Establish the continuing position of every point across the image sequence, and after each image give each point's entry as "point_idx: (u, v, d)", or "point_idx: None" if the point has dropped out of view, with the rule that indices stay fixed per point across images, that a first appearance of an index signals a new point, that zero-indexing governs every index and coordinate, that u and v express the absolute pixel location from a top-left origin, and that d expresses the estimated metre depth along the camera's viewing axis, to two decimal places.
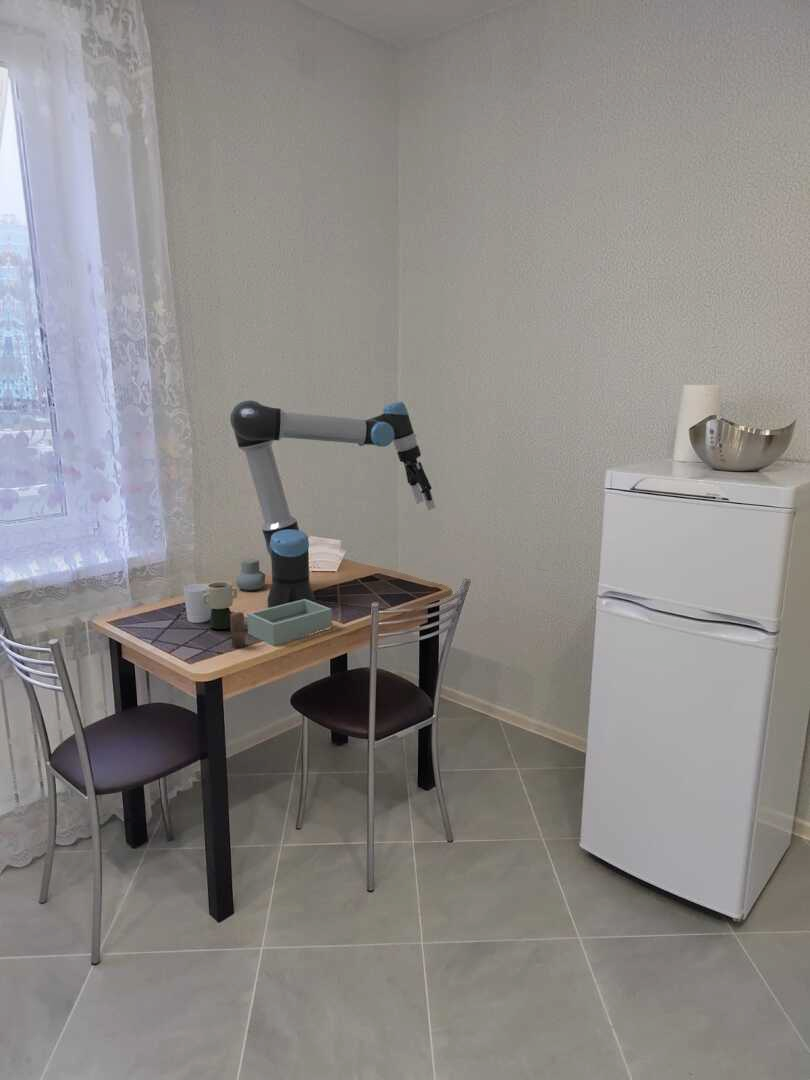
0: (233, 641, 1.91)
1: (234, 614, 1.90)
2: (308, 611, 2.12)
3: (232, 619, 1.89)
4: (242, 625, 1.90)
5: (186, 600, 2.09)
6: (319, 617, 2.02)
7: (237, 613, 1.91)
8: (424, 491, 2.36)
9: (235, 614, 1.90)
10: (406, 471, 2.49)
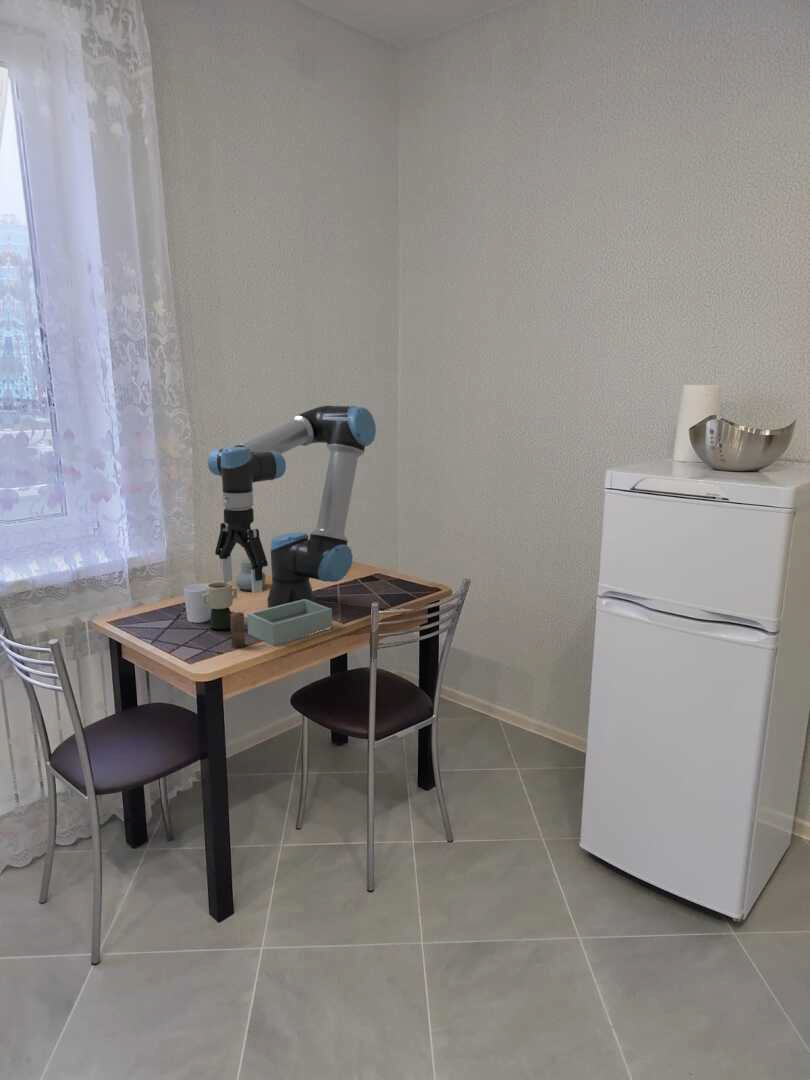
0: (233, 641, 1.91)
1: (234, 614, 1.90)
2: (308, 611, 2.12)
3: (232, 619, 1.89)
4: (242, 625, 1.90)
5: (186, 600, 2.09)
6: (319, 617, 2.02)
7: (237, 613, 1.91)
8: None
9: (235, 614, 1.90)
10: None
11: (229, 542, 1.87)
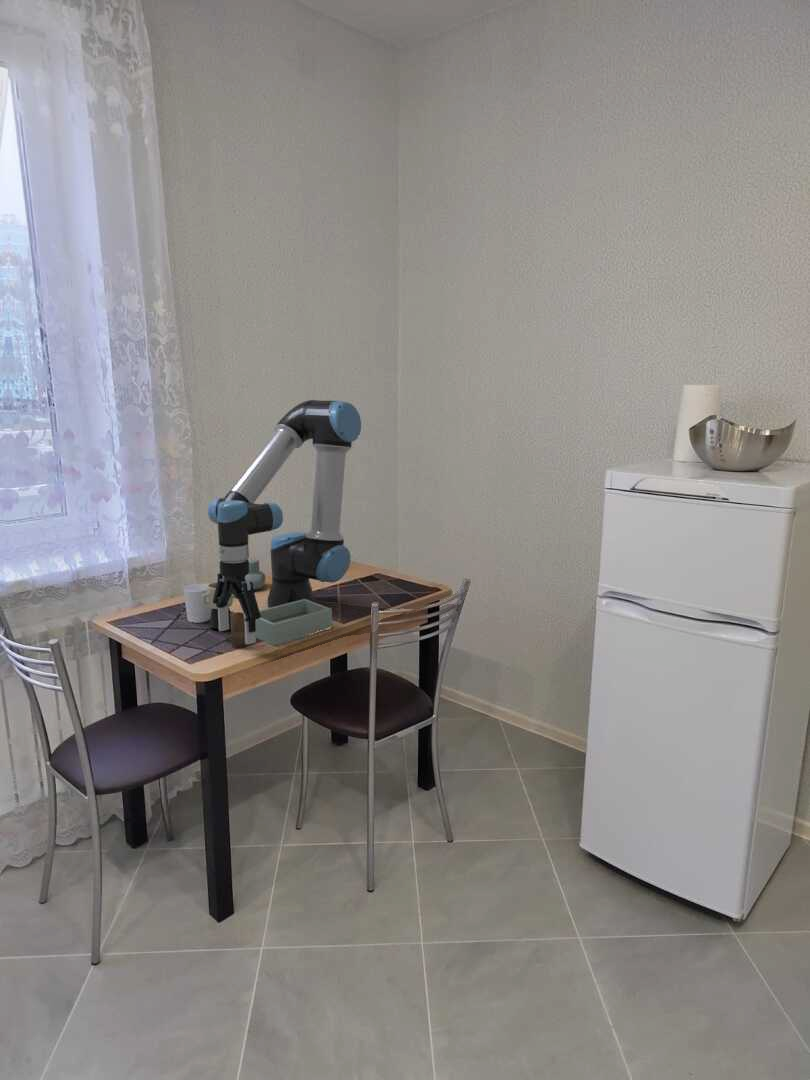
0: (233, 641, 1.91)
1: (234, 614, 1.90)
2: (308, 611, 2.12)
3: (232, 619, 1.89)
4: (242, 625, 1.90)
5: (186, 600, 2.09)
6: (319, 617, 2.02)
7: (237, 613, 1.91)
8: None
9: (235, 614, 1.90)
10: None
11: (225, 592, 1.90)
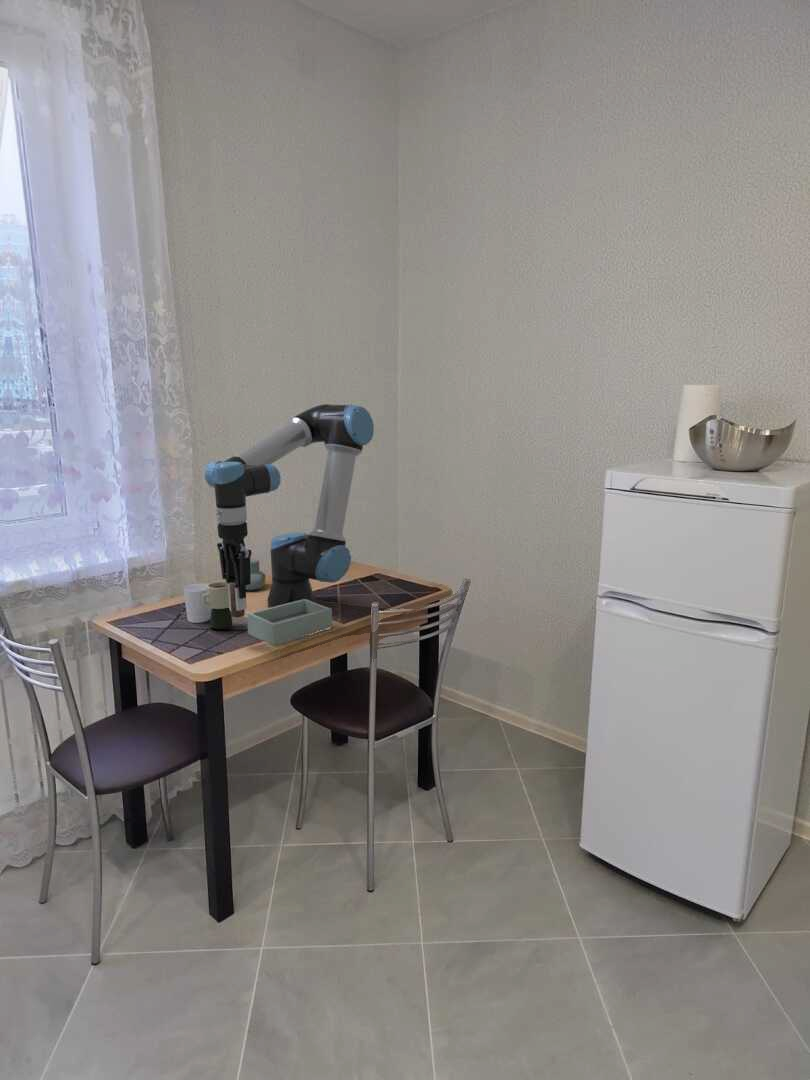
0: (232, 610, 1.89)
1: (233, 583, 1.88)
2: (308, 611, 2.12)
3: (231, 587, 1.87)
4: None
5: (186, 600, 2.09)
6: (319, 617, 2.02)
7: None
8: None
9: (234, 583, 1.89)
10: None
11: (228, 559, 1.87)
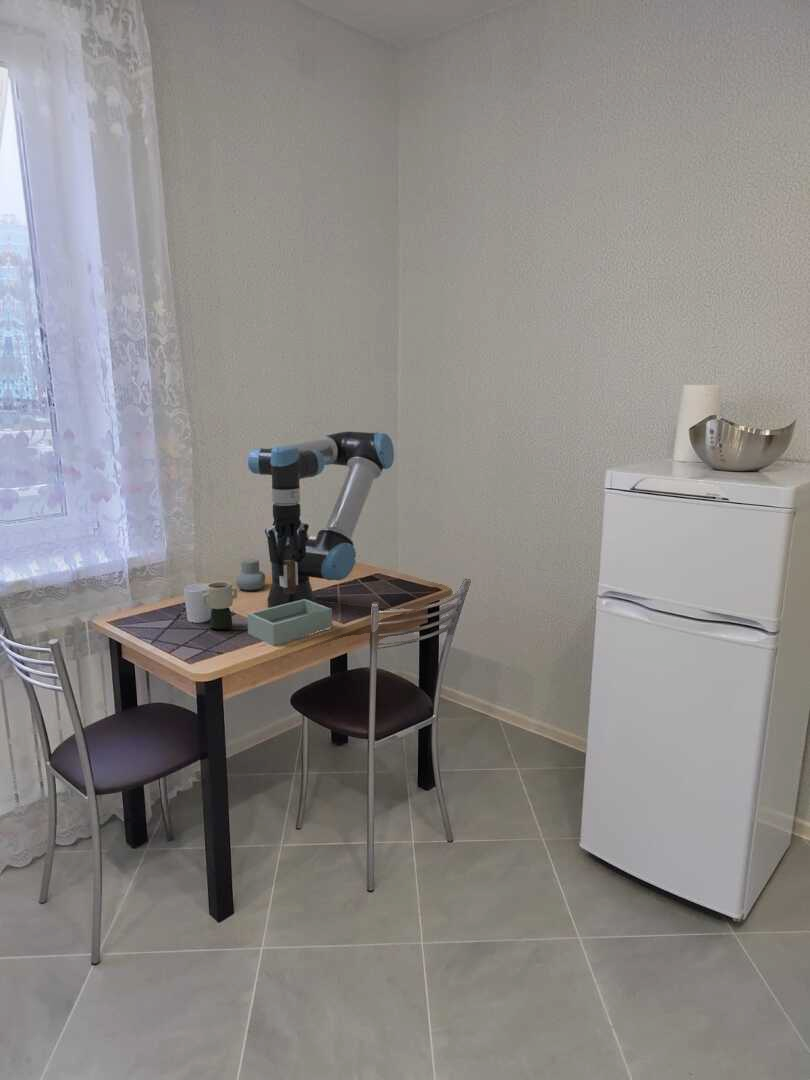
0: (294, 586, 2.00)
1: (289, 561, 1.99)
2: (308, 611, 2.12)
3: (293, 565, 1.98)
4: None
5: (186, 600, 2.09)
6: (319, 617, 2.02)
7: (286, 561, 1.99)
8: (276, 563, 1.98)
9: (288, 561, 1.99)
10: None
11: None
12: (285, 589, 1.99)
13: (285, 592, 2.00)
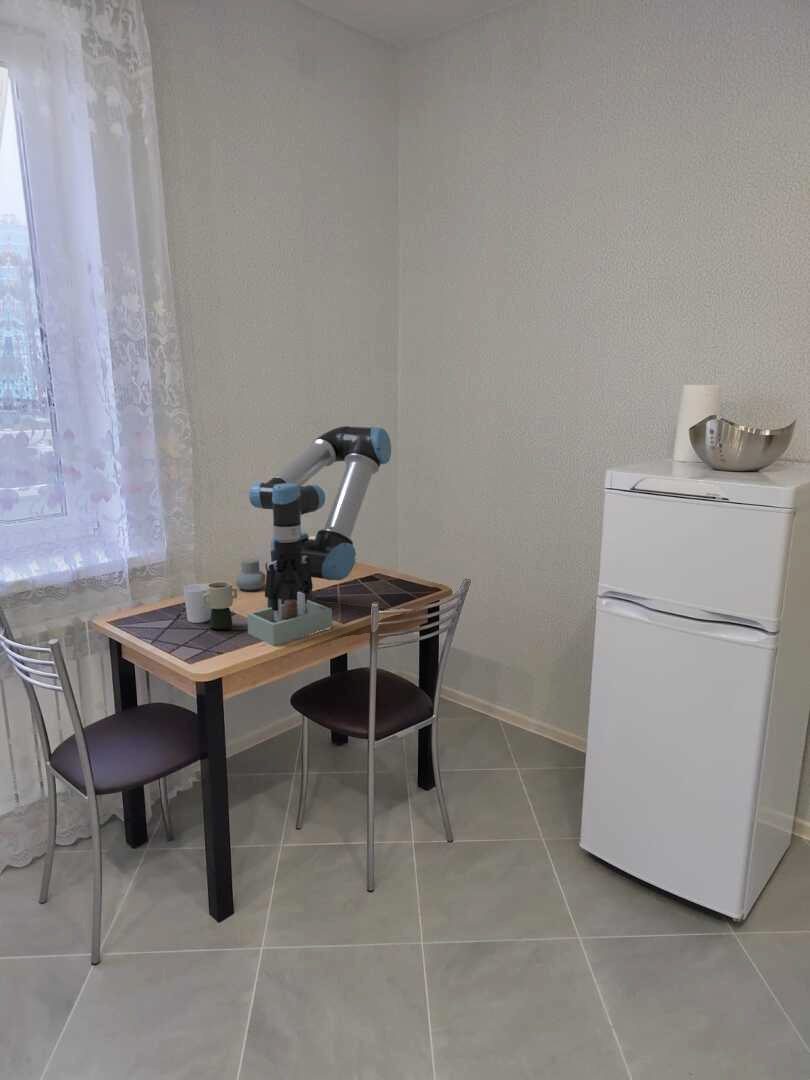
0: None
1: (291, 601, 2.01)
2: (308, 611, 2.12)
3: (295, 605, 2.01)
4: None
5: (186, 600, 2.09)
6: (319, 617, 2.02)
7: (288, 601, 2.02)
8: None
9: (290, 601, 2.02)
10: None
11: None
12: None
13: None
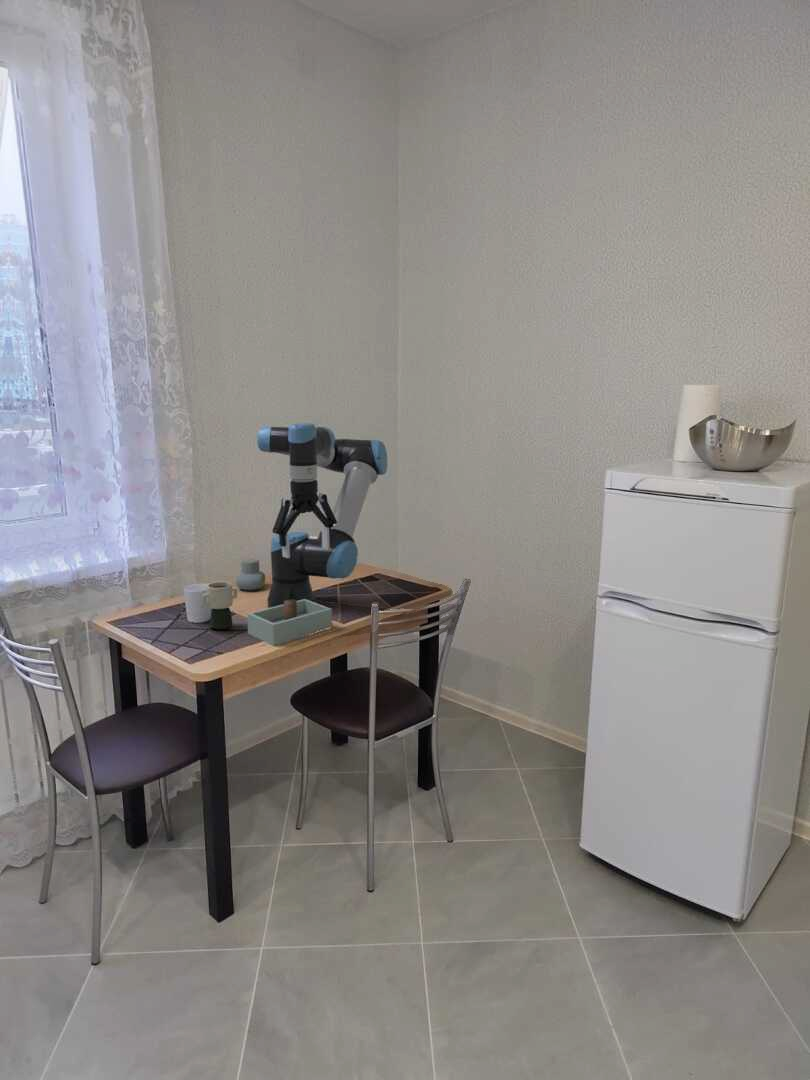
0: None
1: (291, 601, 2.01)
2: (308, 611, 2.12)
3: (295, 605, 2.01)
4: None
5: (186, 600, 2.09)
6: (319, 617, 2.02)
7: (288, 601, 2.02)
8: None
9: (290, 601, 2.01)
10: None
11: None
12: None
13: None
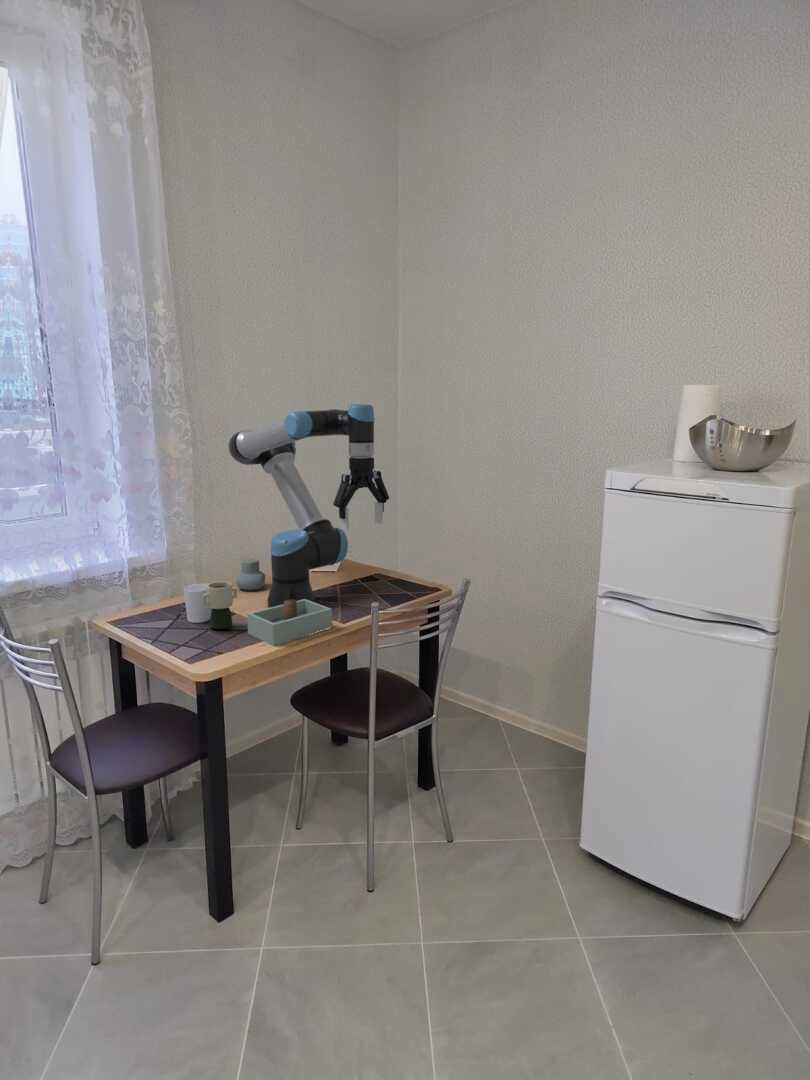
0: None
1: (291, 601, 2.01)
2: (308, 611, 2.12)
3: (295, 605, 2.01)
4: None
5: (186, 600, 2.09)
6: (319, 617, 2.02)
7: (288, 601, 2.02)
8: None
9: (290, 601, 2.01)
10: None
11: None
12: None
13: None
